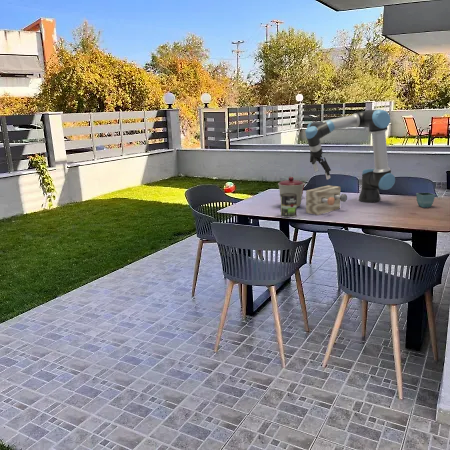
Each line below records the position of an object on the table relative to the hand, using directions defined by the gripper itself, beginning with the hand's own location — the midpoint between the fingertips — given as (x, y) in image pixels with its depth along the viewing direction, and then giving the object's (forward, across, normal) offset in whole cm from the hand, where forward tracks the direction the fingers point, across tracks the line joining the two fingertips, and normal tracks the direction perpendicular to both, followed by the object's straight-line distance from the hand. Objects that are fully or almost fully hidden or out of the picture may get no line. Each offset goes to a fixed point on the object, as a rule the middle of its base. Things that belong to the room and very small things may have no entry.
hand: (322, 174), depth 308 cm
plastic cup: (+30, -30, -9) cm, 43 cm away
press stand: (+15, +14, -14) cm, 25 cm away
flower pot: (+37, +42, +45) cm, 71 cm away
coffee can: (+4, +13, -38) cm, 40 cm away
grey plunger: (+13, +16, -3) cm, 20 cm away
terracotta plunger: (+6, +19, -14) cm, 25 cm away
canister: (+16, -9, -25) cm, 31 cm away
